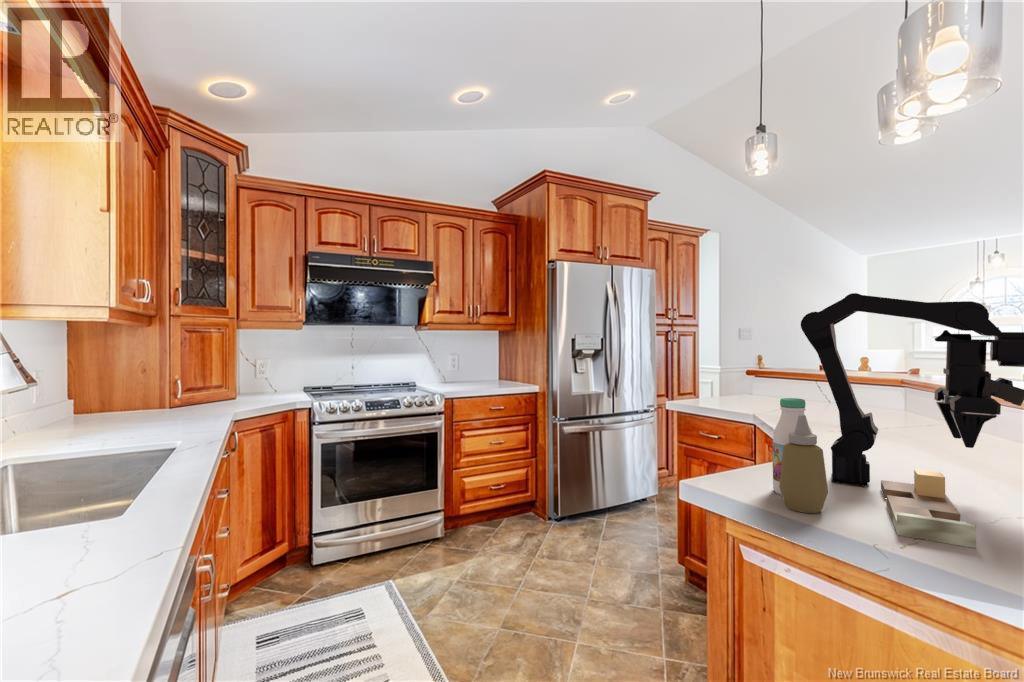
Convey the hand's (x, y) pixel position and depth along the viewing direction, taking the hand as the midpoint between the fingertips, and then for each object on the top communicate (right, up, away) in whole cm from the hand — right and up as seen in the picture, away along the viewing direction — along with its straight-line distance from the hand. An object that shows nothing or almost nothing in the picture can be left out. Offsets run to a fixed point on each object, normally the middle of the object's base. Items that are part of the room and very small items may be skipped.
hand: (963, 442), depth 94 cm
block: (-9, -10, -2) cm, 13 cm away
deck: (-14, -12, -7) cm, 20 cm away
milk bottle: (-31, -12, +5) cm, 33 cm away
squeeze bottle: (-34, -12, -3) cm, 36 cm away
